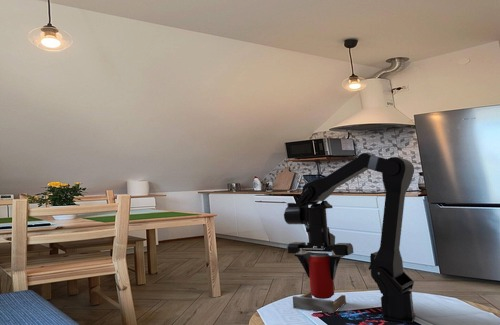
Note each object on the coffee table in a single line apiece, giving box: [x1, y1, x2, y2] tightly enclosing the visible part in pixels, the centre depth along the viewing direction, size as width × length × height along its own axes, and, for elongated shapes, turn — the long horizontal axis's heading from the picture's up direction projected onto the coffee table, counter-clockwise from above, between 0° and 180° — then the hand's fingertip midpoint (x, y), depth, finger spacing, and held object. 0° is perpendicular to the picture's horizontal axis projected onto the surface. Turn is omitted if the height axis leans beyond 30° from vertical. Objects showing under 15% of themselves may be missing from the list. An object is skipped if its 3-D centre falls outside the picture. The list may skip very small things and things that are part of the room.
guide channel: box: [292, 290, 347, 314], centre depth 94 cm, size 11×11×3 cm
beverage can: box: [308, 252, 335, 300], centre depth 96 cm, size 7×7×12 cm
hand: (321, 278), depth 96 cm, fingers closed on beverage can, 7 cm apart
